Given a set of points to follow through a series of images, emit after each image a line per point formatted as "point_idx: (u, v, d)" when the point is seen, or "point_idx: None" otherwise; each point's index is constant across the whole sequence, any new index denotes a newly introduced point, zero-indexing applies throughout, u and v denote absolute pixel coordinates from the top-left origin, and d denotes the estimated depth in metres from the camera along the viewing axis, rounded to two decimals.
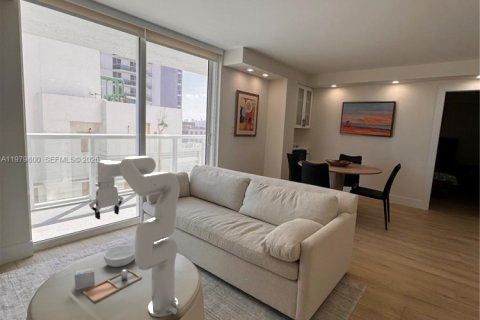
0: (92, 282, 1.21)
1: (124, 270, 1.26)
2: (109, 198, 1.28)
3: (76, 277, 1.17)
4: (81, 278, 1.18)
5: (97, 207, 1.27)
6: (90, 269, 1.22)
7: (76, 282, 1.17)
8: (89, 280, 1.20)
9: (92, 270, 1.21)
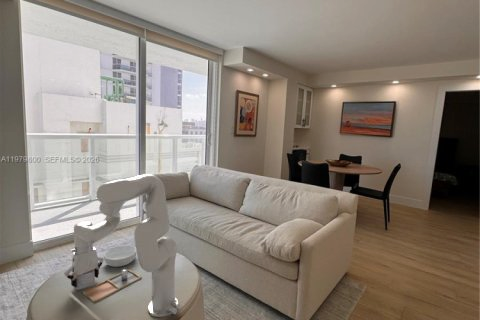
0: (92, 282, 1.21)
1: (124, 270, 1.26)
2: (87, 264, 1.18)
3: (77, 277, 1.17)
4: (81, 278, 1.18)
5: (74, 274, 1.17)
6: None
7: None
8: (90, 280, 1.20)
9: (92, 270, 1.21)
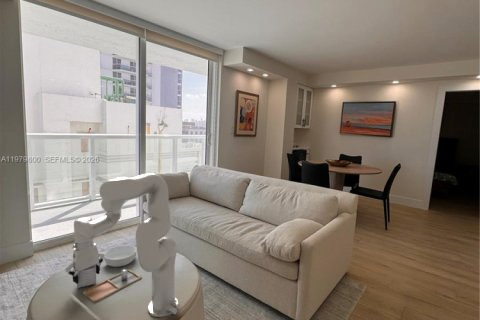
0: (93, 278, 1.20)
1: (124, 270, 1.26)
2: (88, 259, 1.17)
3: (78, 272, 1.17)
4: (82, 274, 1.18)
5: (75, 270, 1.17)
6: None
7: (78, 278, 1.17)
8: (91, 276, 1.20)
9: (94, 266, 1.21)
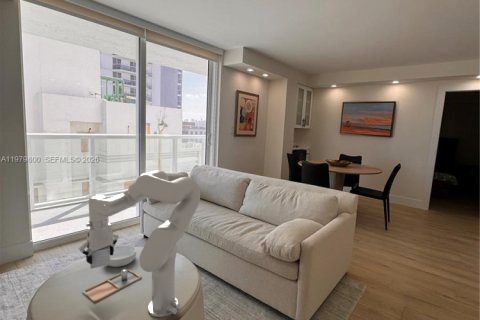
0: (107, 259, 1.15)
1: (124, 270, 1.26)
2: (102, 239, 1.12)
3: (92, 252, 1.12)
4: (96, 254, 1.13)
5: (89, 250, 1.11)
6: None
7: None
8: (105, 257, 1.15)
9: (108, 247, 1.16)
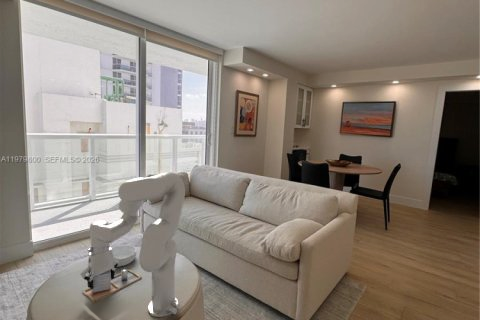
0: (108, 283, 1.17)
1: (124, 270, 1.26)
2: (103, 264, 1.14)
3: (93, 277, 1.13)
4: (97, 279, 1.14)
5: (90, 275, 1.13)
6: None
7: None
8: (106, 281, 1.16)
9: (109, 271, 1.17)
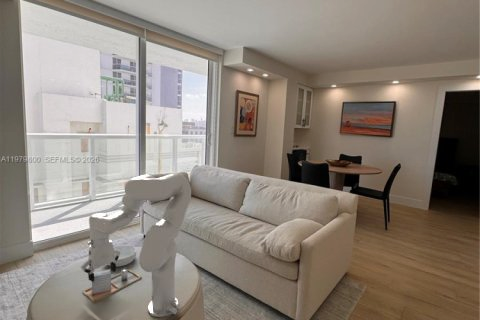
0: (109, 284, 1.17)
1: (124, 270, 1.26)
2: (104, 256, 1.13)
3: (94, 278, 1.13)
4: (98, 280, 1.14)
5: (90, 268, 1.12)
6: (107, 271, 1.18)
7: (93, 284, 1.14)
8: (106, 283, 1.16)
9: (109, 272, 1.18)
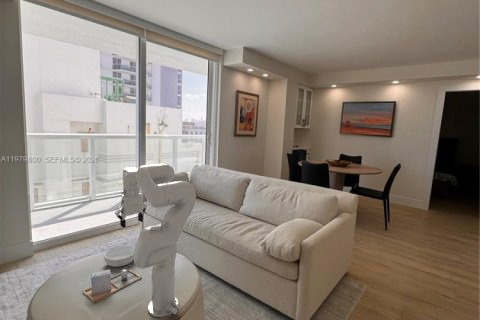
0: (108, 285, 1.17)
1: (124, 270, 1.26)
2: (134, 206, 1.26)
3: (93, 279, 1.13)
4: (97, 281, 1.14)
5: (122, 215, 1.25)
6: (106, 271, 1.18)
7: (92, 285, 1.14)
8: (106, 283, 1.16)
9: (108, 272, 1.17)
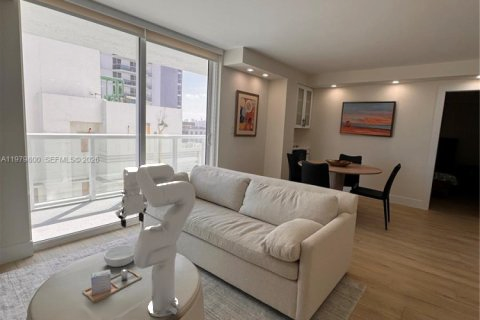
0: (108, 285, 1.17)
1: (124, 270, 1.26)
2: (135, 206, 1.26)
3: (93, 279, 1.13)
4: (97, 281, 1.14)
5: (123, 215, 1.26)
6: (106, 271, 1.18)
7: (92, 285, 1.14)
8: (106, 283, 1.16)
9: (108, 272, 1.17)
